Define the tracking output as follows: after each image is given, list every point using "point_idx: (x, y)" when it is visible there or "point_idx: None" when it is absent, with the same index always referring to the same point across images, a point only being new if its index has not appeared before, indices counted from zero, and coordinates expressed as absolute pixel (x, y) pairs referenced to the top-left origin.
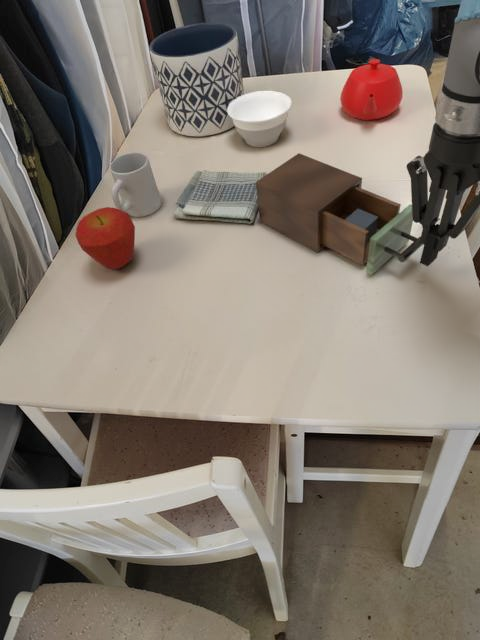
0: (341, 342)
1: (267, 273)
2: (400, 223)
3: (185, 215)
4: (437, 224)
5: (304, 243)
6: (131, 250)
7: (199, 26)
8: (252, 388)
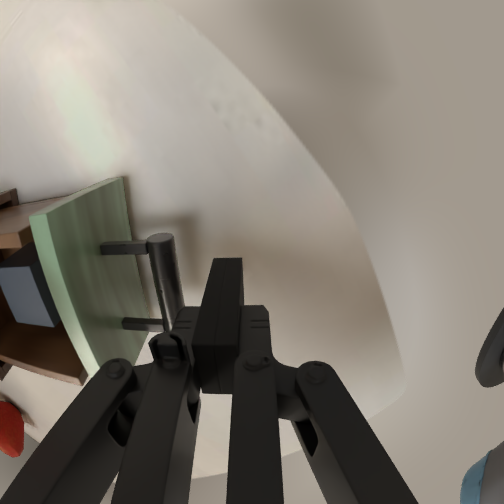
0: (228, 418)
1: None
2: (82, 298)
3: None
4: (196, 346)
5: None
6: (12, 421)
7: None
8: (207, 464)
